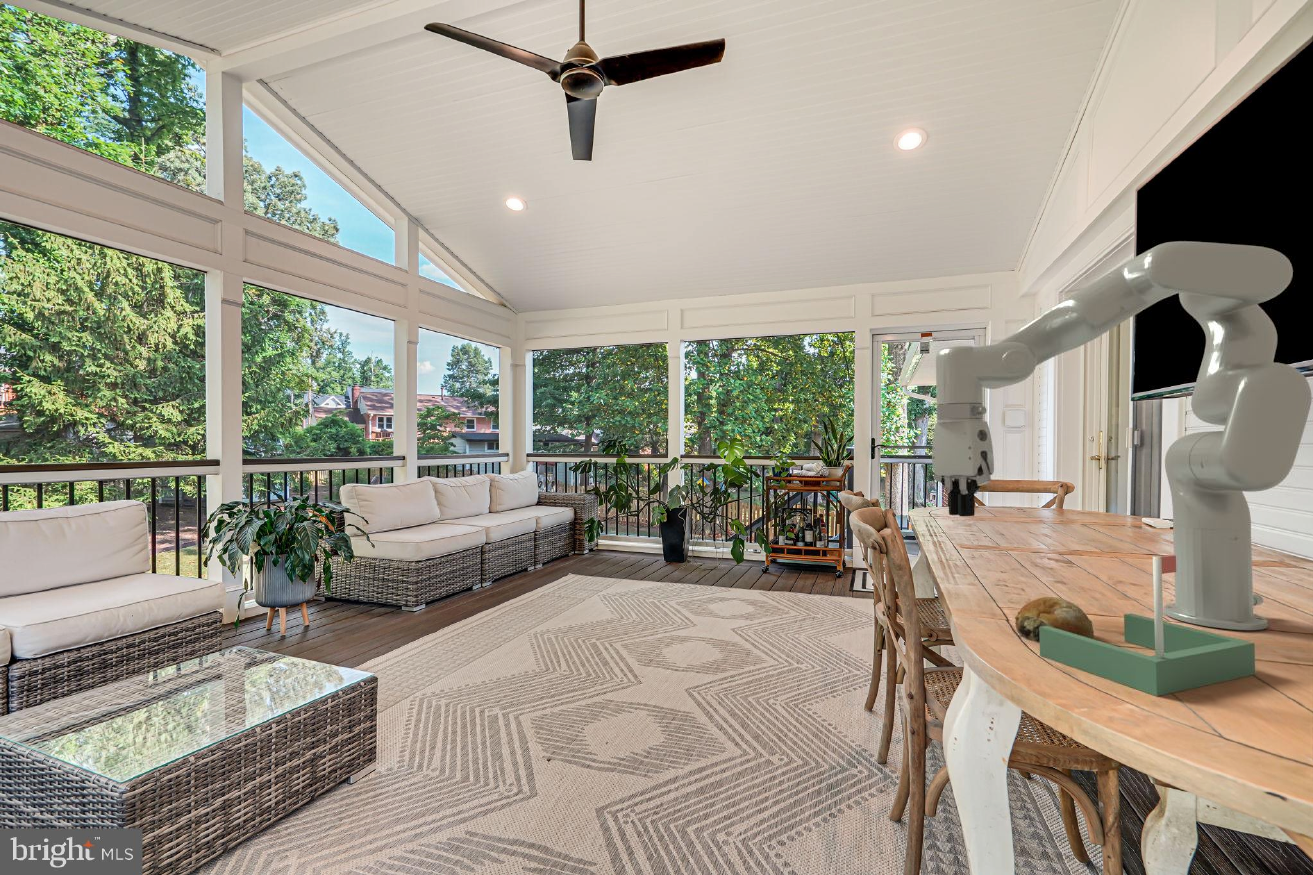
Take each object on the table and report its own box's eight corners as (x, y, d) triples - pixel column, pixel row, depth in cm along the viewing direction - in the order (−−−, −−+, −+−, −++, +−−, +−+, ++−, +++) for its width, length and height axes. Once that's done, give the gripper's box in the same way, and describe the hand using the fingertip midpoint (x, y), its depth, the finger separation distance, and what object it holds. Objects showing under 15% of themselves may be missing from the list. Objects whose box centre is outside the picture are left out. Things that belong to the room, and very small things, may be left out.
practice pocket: (1131, 639, 88) (1128, 534, 89) (1255, 674, 75) (1251, 549, 75) (1039, 655, 82) (1037, 541, 83) (1156, 696, 69) (1153, 559, 69)
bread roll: (1095, 675, 84) (1121, 626, 84) (1023, 640, 86) (1048, 592, 86) (1062, 651, 94) (1085, 607, 94) (998, 621, 96) (1020, 578, 96)
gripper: (1013, 412, 101) (1015, 519, 100) (942, 417, 115) (943, 510, 115) (980, 411, 98) (982, 521, 98) (911, 417, 113) (913, 512, 113)
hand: (961, 514), depth 106 cm, fingers closed
